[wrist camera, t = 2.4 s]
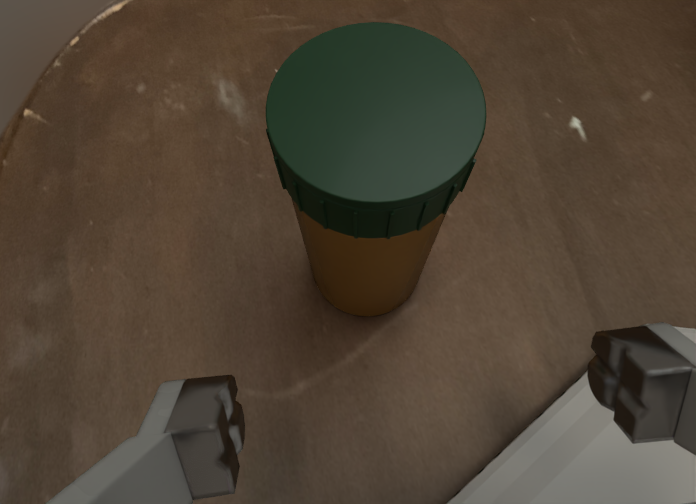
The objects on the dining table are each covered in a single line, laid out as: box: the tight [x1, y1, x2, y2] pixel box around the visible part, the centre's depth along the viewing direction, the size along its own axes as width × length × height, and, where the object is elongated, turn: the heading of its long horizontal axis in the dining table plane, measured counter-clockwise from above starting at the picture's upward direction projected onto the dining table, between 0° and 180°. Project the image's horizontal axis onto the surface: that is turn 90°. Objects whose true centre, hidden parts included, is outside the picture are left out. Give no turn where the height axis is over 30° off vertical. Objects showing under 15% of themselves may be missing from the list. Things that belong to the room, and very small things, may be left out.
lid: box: [266, 22, 486, 239], centre depth 13 cm, size 6×6×2 cm
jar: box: [292, 199, 449, 316], centre depth 18 cm, size 6×6×12 cm
